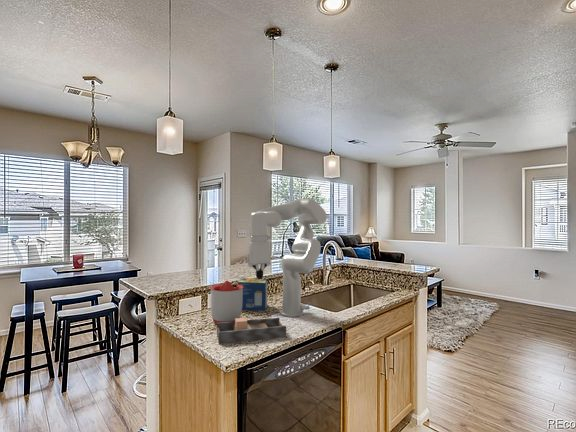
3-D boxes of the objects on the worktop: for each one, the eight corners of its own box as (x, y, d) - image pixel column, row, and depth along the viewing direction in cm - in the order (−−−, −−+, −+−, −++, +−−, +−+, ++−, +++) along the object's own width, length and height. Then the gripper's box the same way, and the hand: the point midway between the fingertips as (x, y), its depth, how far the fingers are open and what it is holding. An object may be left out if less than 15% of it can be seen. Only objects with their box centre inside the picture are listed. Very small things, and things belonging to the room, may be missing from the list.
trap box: (278, 327, 143) (278, 317, 143) (286, 337, 132) (286, 326, 132) (216, 333, 135) (216, 322, 135) (218, 343, 123) (219, 332, 123)
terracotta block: (245, 326, 135) (245, 317, 135) (247, 330, 130) (247, 320, 130) (234, 327, 133) (235, 318, 133) (236, 331, 129) (236, 321, 129)
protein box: (240, 304, 178) (241, 277, 178) (267, 305, 178) (267, 278, 178) (237, 310, 168) (237, 281, 168) (265, 311, 167) (265, 282, 167)
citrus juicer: (249, 317, 156) (249, 277, 156) (234, 329, 140) (234, 285, 140) (221, 314, 161) (221, 275, 161) (203, 325, 144) (204, 282, 144)
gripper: (272, 237, 148) (272, 275, 149) (241, 239, 143) (242, 278, 144) (277, 239, 141) (277, 279, 142) (244, 240, 136) (245, 282, 137)
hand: (259, 278), depth 143 cm, fingers closed
